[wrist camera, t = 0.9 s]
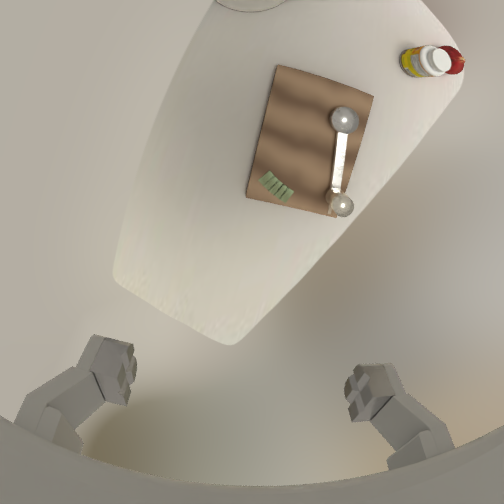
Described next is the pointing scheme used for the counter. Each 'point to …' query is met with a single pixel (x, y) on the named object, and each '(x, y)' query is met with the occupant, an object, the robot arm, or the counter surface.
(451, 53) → the onion
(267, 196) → the board
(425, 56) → the supplement bottle
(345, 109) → the silver measuring spoon
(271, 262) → the counter surface
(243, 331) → the counter surface
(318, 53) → the counter surface
